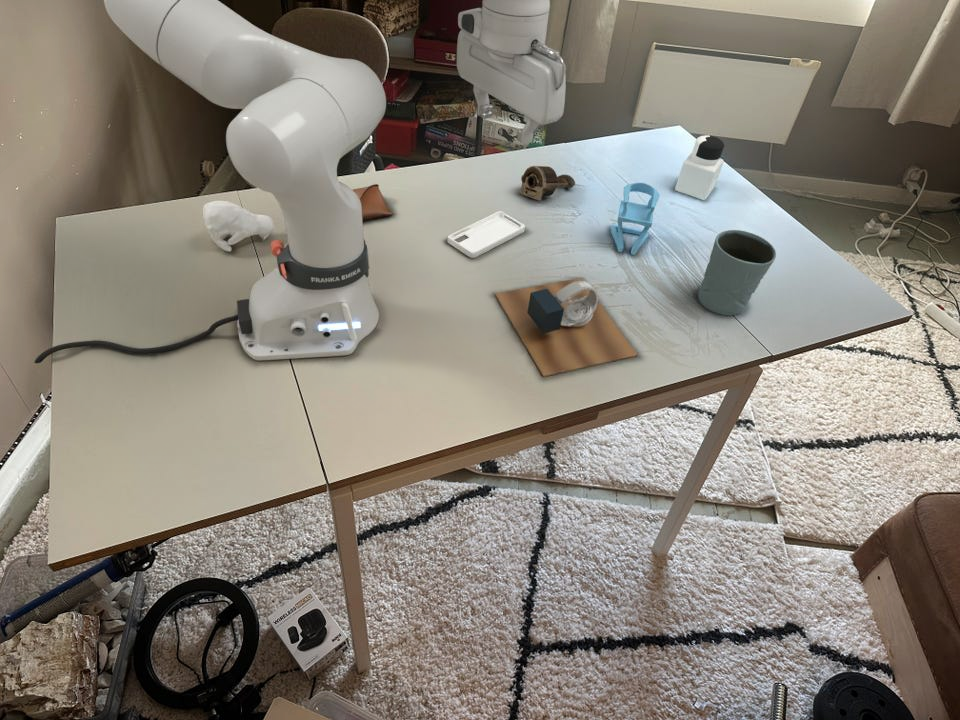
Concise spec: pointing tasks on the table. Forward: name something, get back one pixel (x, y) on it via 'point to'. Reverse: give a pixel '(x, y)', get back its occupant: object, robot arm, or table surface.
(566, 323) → the watch
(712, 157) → the medicine bottle
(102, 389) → the table surface
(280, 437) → the table surface
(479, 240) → the phone case
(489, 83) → the robot arm
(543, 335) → the wooden board
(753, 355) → the table surface
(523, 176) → the mechanical counter
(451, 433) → the table surface
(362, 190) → the sunglasses case
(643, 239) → the chair
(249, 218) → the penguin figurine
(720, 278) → the grey-green cylindrical cup
